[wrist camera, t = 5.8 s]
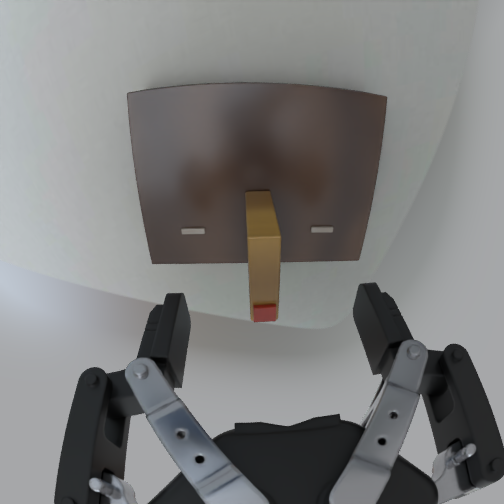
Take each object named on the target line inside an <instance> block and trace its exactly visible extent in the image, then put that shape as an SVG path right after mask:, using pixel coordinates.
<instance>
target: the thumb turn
mask: <svg viewBox="0 0 504 504" xmlns="http://www.w3.org/2000/svg"><path fill="white" fill-rule="evenodd" d="M245 200H246V225H247V250H248V273H249V294H250V314H251V320H252V321H254V322H267V321H276V319H278V308H279V287H280V263H281V233H280V229H279V225H278V221H277V217H276V213H275V209H274V205H273V201H272V197H271V193H270V191H251V192H246V193H245Z"/></svg>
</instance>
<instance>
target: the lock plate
mask: <svg viewBox="0 0 504 504" xmlns="http://www.w3.org/2000/svg"><path fill="white" fill-rule="evenodd" d="M127 100H128V113H129V124H130V134H131V143H132V151H133V159H134V167H135V174H136V181H137V187H138V193H139V199H140V205H141V211H142V216H143V222H144V227H145V232H146V237H147V242H148V247H149V251H150V256H151V260H152V264H196V263H248V250H247V225H246V200H245V193H246V192H251V191H270V193H271V197H272V201H273V205H274V209H275V213H276V217H277V221H278V225H279V229H280V233H281V262H313V261H354V260H359V258H360V254H361V250H362V246H363V242H364V237H365V233H366V229H367V224H368V220H369V215H370V210H371V205H372V200H373V195H374V189H375V184H376V178H377V172H378V166H379V160H380V153H381V146H382V139H383V131H384V123H385V114H386V104H387V97H386V96H382V95H377V94H372V93H367V92H361V91H355V90H348V89H341V88H333V87H324V86H314V85H303V84H288V83H262V82H232V83H207V84H192V85H180V86H170V87H162V88H154V89H147V90H141V91H135V92H130V93H127Z"/></svg>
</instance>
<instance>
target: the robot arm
mask: <svg viewBox="0 0 504 504" xmlns="http://www.w3.org/2000/svg"><path fill="white" fill-rule="evenodd" d="M353 317H354V321H355V324H356V326H357V329H358V332H359V335H360V338H361V340H362V343H363V346H364V349H365V352H366V355H367V358H368V361H369V364H370V367H371V370H372V373H373V375H376V374H381V375H382V377H383V379H382V380H381V382H380V385H379V387H378V389H377V391H376V394H375V396H374V398H373V400H372V402H371V404H370V406H369V409H368V410H367V412H366V414H365V416H364V418H363V419H362V421H361V423H360V425H358V424H356V423H353V422H349V421H345V420H341V419H340V414H336V415H330V416H322V417H315V418H312V419H309V420H306V421H304V422H301V423H298V424H295V425H292V426H282V425H275V424H269V423H263V422H255V423H235V429H233V430H229V431H227V432H224V433H222V434H220V435H218V436H216V437H215V438H213V439H211V438H210V437H209V435H208V434H207V433H206V432H205V430H204V429H203V428H202V427H201V426H200V424H199V423H198V421H197V420H196V419H195V418H194V416H193V415H192V414H191V412H190V411H189V410H188V408H187V407H186V405H185V404H184V403H183V401H182V400H181V399H180V398H179V397H178V396H177V395H176V393H175V392H174V388H182V382H183V375H184V368H185V361H186V355H187V348H188V341H189V335H190V328H191V324H190V323H191V321H190V315H189V311H188V307H187V304H186V300H185V296H184V294H183V293H167V294H166V297H165V301H164V304H163V305H156V306H155V308H154V309H153V310H152V311H151V312H150V315H149V318H148V321H147V324H146V328H145V331H144V335H143V338H142V341H141V345H140V348H139V352H138V356H137V358H136V359H135V360H133V361H132V362H130V363H129V364H128V366H127V367H126V369H124V370H121V371H117V372H112V373H107V374H106V373H105V371H104V370H102V369H101V368H97V367H93V368H89V369H87V370H85V371H84V372H83V373H82V374H81V376H80V378H79V381H78V384H77V388H76V391H75V395H74V399H73V402H72V406H71V410H70V414H69V419H68V423H67V428H66V431H65V436H64V441H63V446H62V451H61V456H60V463H59V469H58V475H57V482H56V489H55V499H54V503H55V504H137V502H136V499H135V492H134V490H133V488H132V486H131V485H130V484H128V483H127V482H126V481H124V471H125V460H126V449H127V441H128V433H129V425H130V418H131V416H132V415H138V414H142V413H145V414H146V418H147V420H148V422H149V423H150V425H151V427H152V428H153V430H154V432H155V433H156V435H157V436H158V438H159V440H160V441H161V443H162V444H163V446H164V447H165V449H166V450H167V452H168V453H169V455H170V456H171V457H172V459H173V460H174V462H175V463H176V464H177V466H178V467H179V469H180V470H181V472H180V473H179V474H178V475H177V476H176V477H175V478H174V479H173V480H172V481H171V482H170V483H169V484H168V485H167V486H166V487H165V488H164V489H163V490H162V491H160V492H159V493H158V494H157V495H156V496H155V497H154V498H153V499H152V500H151V501H150V502H149V503H148V504H442V503H444V502H447V501H449V500H451V499H457V498H460V497H462V496H465V495H467V494H470V493H472V492H474V491H477V490H479V489H481V488H483V487H486V486H488V485H490V484H492V483H494V482H496V481H498V480H499V479H501V478H502V477H503V475H504V446H503V443H502V440H501V436H500V433H499V430H498V427H497V424H496V421H495V418H494V415H493V412H492V409H491V406H490V404H489V401H488V399H487V396H486V393H485V391H484V388H483V386H482V383H481V381H480V379H479V377H478V374H477V372H476V369H475V367H474V365H473V363H472V360H471V358H470V356H469V354H468V352H467V351H466V349H465V348H464V347H462V346H461V345H458V344H450V345H448V346H447V347H446V348H445V350H444V351H434V350H427V348H426V347H425V346H424V345H423V344H422V343H421V342H419V341H417V340H414V339H413V337H412V335H411V333H410V331H409V329H408V327H407V325H406V323H405V321H404V319H403V317H402V316H401V313H400V311H399V309H398V307H397V305H396V303H395V301H394V299H393V298H392V297H390V296H389V295H388V294H387V293H386V292H384V293H381V291H380V289H379V287H378V285H377V284H376V283H363V284H360V285H359V287H358V291H357V295H356V299H355V303H354V307H353ZM420 394H422V397H423V400H424V403H425V407H426V410H427V414H428V417H429V421H430V424H431V428H432V432H433V436H434V439H435V444H436V448H437V452H438V455H437V457H436V458H435V460H434V462H433V469H432V473H433V475H432V478H430V477H429V476H428V475H427V474H425V473H424V472H422V471H421V470H420V469H418V468H417V467H415V466H414V465H413V464H411V463H410V462H409V461H407V460H406V459H404V458H403V457H402V456H400V455H399V451H400V449H401V447H402V444H403V441H404V439H405V437H406V434H407V432H408V429H409V427H410V424H411V421H412V419H413V416H414V413H415V410H416V407H417V404H418V401H419V398H420Z"/></svg>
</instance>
